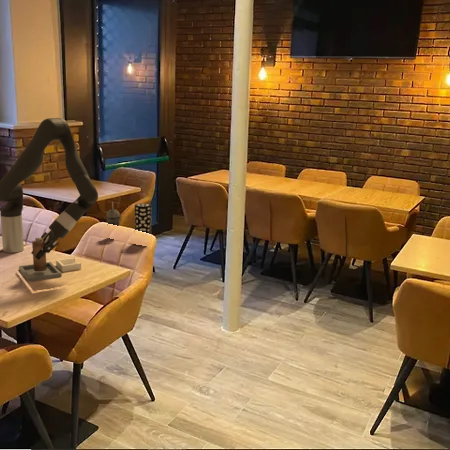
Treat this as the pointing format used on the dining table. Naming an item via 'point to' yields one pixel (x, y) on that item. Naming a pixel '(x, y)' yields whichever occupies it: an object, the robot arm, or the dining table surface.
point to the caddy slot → (67, 264)
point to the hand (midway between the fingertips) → (34, 256)
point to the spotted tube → (143, 217)
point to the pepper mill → (36, 245)
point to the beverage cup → (113, 216)
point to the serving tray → (40, 272)
